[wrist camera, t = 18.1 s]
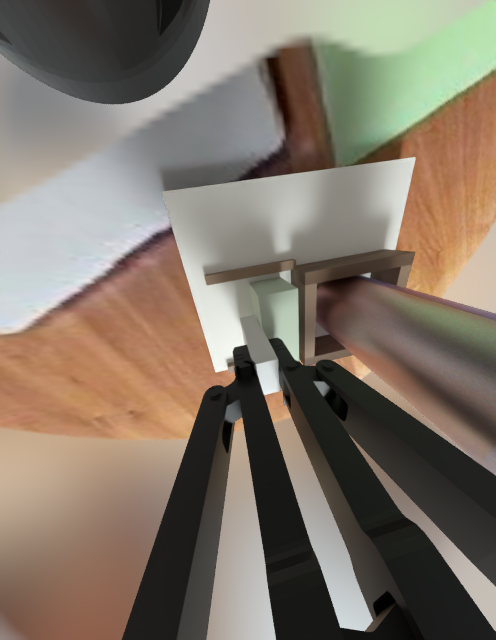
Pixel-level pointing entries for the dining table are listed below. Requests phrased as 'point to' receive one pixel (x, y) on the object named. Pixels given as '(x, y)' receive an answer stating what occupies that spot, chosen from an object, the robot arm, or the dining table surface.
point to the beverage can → (422, 354)
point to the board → (278, 235)
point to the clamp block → (277, 311)
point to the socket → (306, 276)
